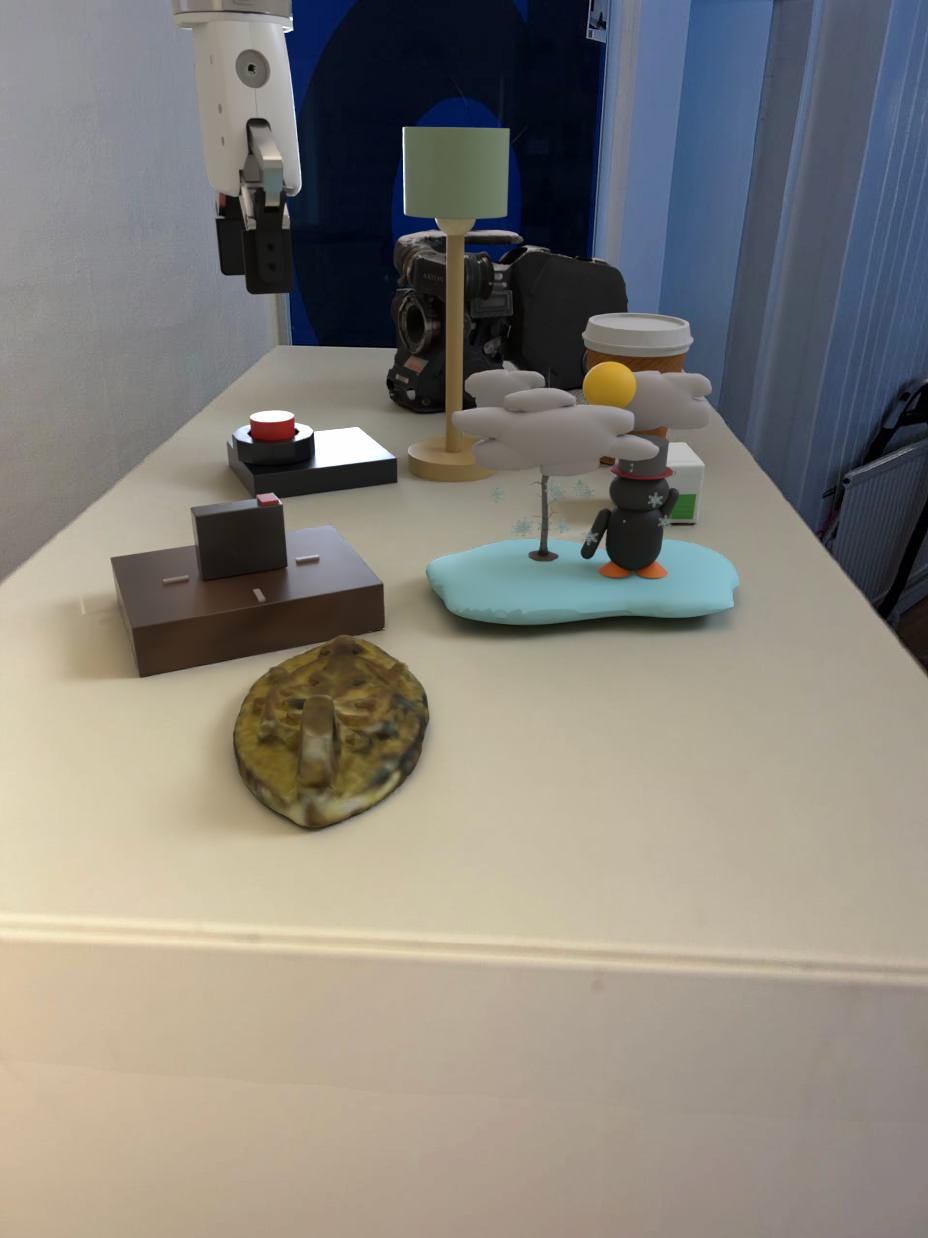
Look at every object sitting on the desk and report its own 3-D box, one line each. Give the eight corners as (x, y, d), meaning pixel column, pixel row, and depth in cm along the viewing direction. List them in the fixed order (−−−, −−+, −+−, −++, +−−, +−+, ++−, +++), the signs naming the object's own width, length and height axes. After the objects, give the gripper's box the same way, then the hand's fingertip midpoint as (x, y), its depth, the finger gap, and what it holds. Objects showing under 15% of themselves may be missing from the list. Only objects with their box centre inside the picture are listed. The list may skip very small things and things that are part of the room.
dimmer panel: (139, 677, 50) (130, 625, 49) (117, 601, 58) (109, 554, 57) (385, 629, 55) (383, 581, 54) (334, 565, 63) (331, 521, 62)
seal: (261, 673, 53) (217, 852, 39) (243, 598, 51) (191, 760, 37) (425, 652, 53) (437, 824, 40) (415, 577, 51) (424, 731, 37)
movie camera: (423, 428, 90) (425, 231, 83) (349, 395, 104) (345, 225, 97) (670, 404, 105) (689, 234, 98) (575, 378, 119) (586, 229, 112)
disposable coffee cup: (608, 478, 80) (621, 334, 75) (555, 447, 88) (563, 315, 83) (700, 465, 84) (718, 327, 78) (641, 436, 91) (654, 309, 86)
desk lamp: (429, 487, 78) (427, 126, 65) (394, 460, 84) (387, 126, 72) (514, 475, 81) (528, 128, 68) (475, 449, 87) (481, 128, 75)
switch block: (252, 502, 74) (247, 453, 72) (225, 465, 82) (221, 420, 80) (397, 483, 78) (396, 436, 77) (359, 450, 87) (357, 407, 85)
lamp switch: (257, 445, 75) (255, 424, 75) (247, 433, 78) (245, 412, 77) (300, 440, 77) (299, 419, 76) (289, 428, 80) (287, 408, 79)
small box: (625, 526, 70) (631, 463, 68) (610, 499, 76) (615, 440, 73) (699, 525, 71) (708, 463, 69) (679, 499, 76) (686, 440, 74)
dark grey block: (203, 581, 54) (194, 512, 52) (198, 570, 55) (189, 502, 53) (288, 567, 56) (283, 500, 54) (281, 557, 57) (275, 491, 55)
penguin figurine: (713, 562, 65) (747, 337, 58) (765, 635, 55) (813, 377, 48) (424, 565, 64) (422, 336, 57) (427, 640, 54) (425, 377, 47)
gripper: (325, -11, 54) (339, 298, 62) (261, 18, 68) (279, 266, 76) (192, -20, 52) (225, 304, 59) (155, 11, 66) (185, 270, 74)
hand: (255, 283), depth 68 cm, fingers open, 9 cm apart
